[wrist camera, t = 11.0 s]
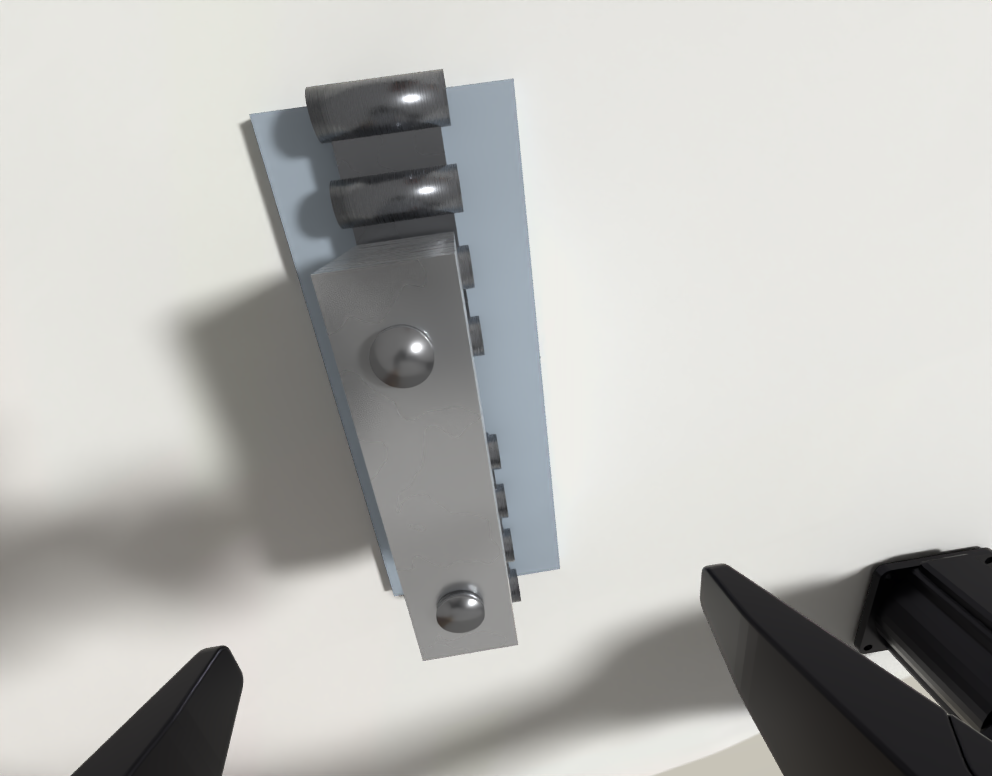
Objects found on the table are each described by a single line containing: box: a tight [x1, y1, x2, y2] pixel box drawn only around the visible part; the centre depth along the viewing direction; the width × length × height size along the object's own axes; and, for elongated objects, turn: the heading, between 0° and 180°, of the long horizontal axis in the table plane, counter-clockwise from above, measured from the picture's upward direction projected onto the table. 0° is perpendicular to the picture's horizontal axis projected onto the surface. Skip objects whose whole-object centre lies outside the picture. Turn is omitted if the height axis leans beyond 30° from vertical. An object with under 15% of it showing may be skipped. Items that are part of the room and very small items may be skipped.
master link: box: [311, 231, 518, 661], centre depth 14 cm, size 12×3×5 cm, turn 7°
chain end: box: [305, 69, 485, 357], centre depth 15 cm, size 9×4×2 cm, turn 7°
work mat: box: [249, 79, 560, 596], centre depth 18 cm, size 20×8×1 cm, turn 7°
